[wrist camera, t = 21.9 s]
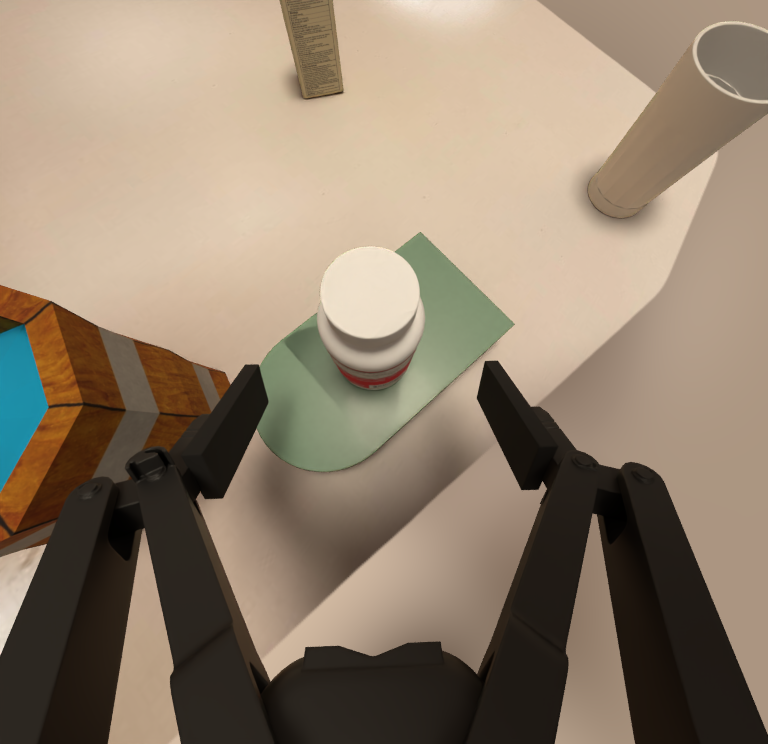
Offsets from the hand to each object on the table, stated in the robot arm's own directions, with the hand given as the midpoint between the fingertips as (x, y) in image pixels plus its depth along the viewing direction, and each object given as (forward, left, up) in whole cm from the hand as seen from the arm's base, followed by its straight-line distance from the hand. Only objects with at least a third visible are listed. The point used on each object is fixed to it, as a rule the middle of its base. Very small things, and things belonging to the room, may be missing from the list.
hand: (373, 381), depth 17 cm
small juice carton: (+13, -37, -10) cm, 41 cm away
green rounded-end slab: (+1, -3, -10) cm, 11 cm away
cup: (-23, -27, -10) cm, 38 cm away
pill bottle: (+1, -3, -6) cm, 7 cm away
